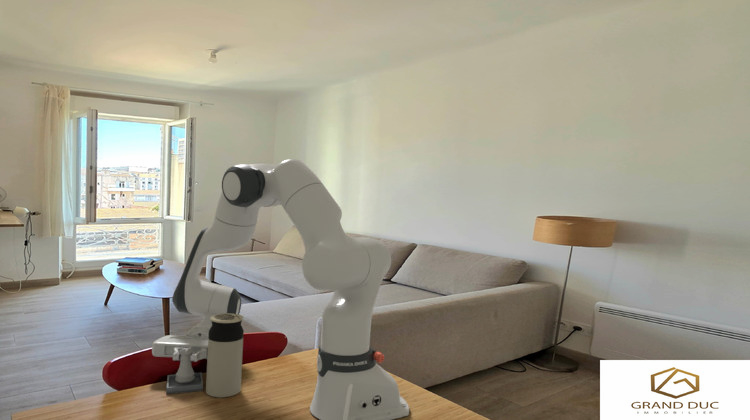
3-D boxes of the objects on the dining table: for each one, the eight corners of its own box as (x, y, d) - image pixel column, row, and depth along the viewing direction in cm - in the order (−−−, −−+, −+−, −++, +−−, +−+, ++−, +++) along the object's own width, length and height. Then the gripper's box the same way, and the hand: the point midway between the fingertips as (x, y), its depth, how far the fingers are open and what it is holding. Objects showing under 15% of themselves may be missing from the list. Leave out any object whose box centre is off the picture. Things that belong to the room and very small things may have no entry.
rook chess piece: (191, 375, 120) (193, 343, 120) (196, 381, 117) (198, 349, 116) (173, 378, 118) (174, 346, 117) (177, 384, 114) (178, 351, 114)
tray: (201, 378, 122) (201, 372, 122) (202, 390, 115) (203, 384, 115) (167, 381, 119) (167, 375, 119) (166, 394, 112) (166, 387, 112)
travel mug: (206, 400, 110) (210, 322, 109) (205, 386, 117) (208, 313, 117) (242, 396, 113) (246, 320, 112) (238, 383, 120) (242, 312, 120)
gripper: (164, 327, 129) (141, 343, 115) (241, 330, 130) (227, 347, 116) (163, 350, 129) (140, 369, 116) (240, 353, 130) (226, 373, 116)
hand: (184, 358), depth 116 cm, fingers closed on rook chess piece, 3 cm apart
